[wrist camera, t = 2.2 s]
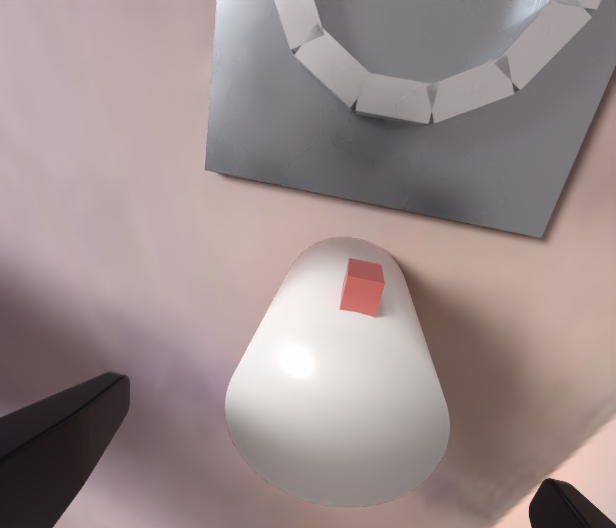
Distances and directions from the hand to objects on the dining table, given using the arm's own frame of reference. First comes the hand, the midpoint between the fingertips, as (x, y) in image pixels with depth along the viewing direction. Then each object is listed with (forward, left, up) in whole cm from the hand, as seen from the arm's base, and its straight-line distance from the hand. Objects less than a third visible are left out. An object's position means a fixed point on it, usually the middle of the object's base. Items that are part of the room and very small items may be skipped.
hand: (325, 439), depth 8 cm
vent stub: (0, 0, -7) cm, 7 cm away
